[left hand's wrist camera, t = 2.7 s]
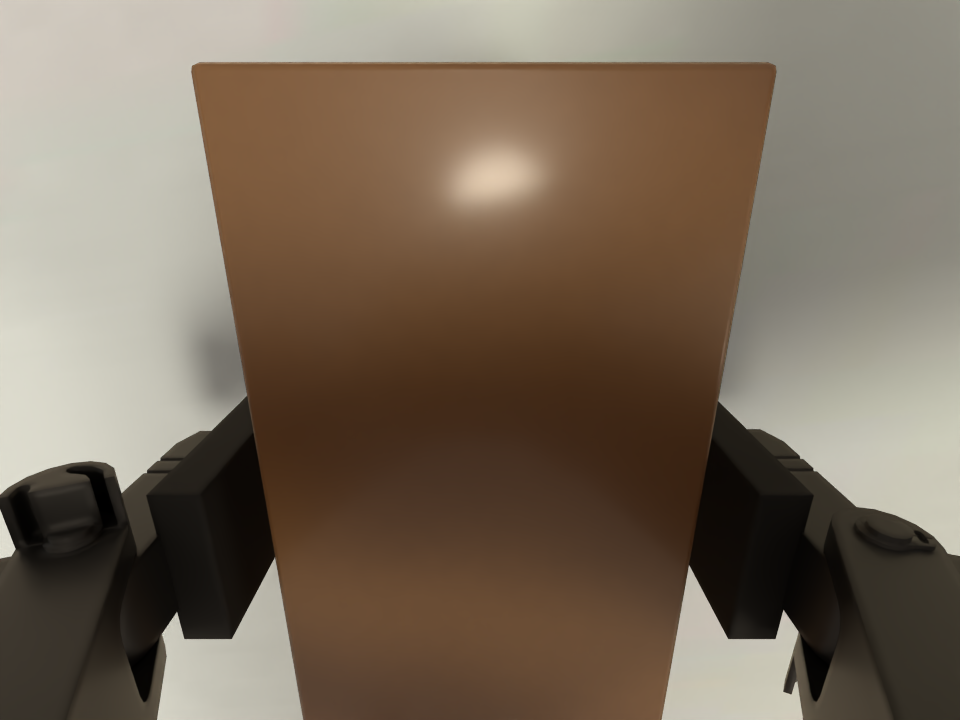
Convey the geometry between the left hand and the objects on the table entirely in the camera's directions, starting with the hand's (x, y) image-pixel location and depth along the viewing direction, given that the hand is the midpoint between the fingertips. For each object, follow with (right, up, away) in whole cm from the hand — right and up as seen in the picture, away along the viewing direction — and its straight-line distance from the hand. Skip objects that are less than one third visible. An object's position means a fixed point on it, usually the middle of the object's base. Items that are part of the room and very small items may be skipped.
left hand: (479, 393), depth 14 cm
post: (0, -21, +9) cm, 22 cm away
